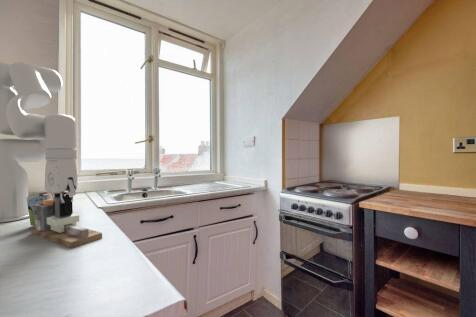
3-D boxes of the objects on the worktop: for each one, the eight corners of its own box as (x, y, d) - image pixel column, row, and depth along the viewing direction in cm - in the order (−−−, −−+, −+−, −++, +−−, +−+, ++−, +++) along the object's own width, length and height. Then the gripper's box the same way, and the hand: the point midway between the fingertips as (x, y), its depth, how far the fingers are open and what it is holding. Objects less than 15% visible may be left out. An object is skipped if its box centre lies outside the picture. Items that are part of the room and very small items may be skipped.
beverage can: (42, 228, 75) (41, 193, 74) (21, 228, 75) (20, 193, 75) (58, 222, 81) (57, 190, 81) (38, 222, 81) (37, 190, 81)
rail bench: (31, 233, 70) (30, 205, 70) (61, 225, 77) (60, 200, 77) (71, 248, 58) (70, 214, 58) (102, 237, 65) (101, 207, 65)
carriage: (47, 230, 67) (46, 198, 67) (69, 224, 72) (68, 194, 72) (56, 233, 64) (55, 199, 64) (79, 227, 69) (78, 196, 69)
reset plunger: (40, 208, 71) (40, 200, 71) (55, 205, 74) (55, 198, 74) (46, 209, 69) (46, 201, 69) (61, 206, 72) (61, 199, 72)
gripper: (34, 155, 68) (35, 214, 69) (60, 155, 61) (62, 221, 61) (62, 155, 75) (64, 209, 75) (89, 154, 67) (90, 214, 68)
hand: (63, 214), depth 68 cm, fingers closed on carriage, 3 cm apart
